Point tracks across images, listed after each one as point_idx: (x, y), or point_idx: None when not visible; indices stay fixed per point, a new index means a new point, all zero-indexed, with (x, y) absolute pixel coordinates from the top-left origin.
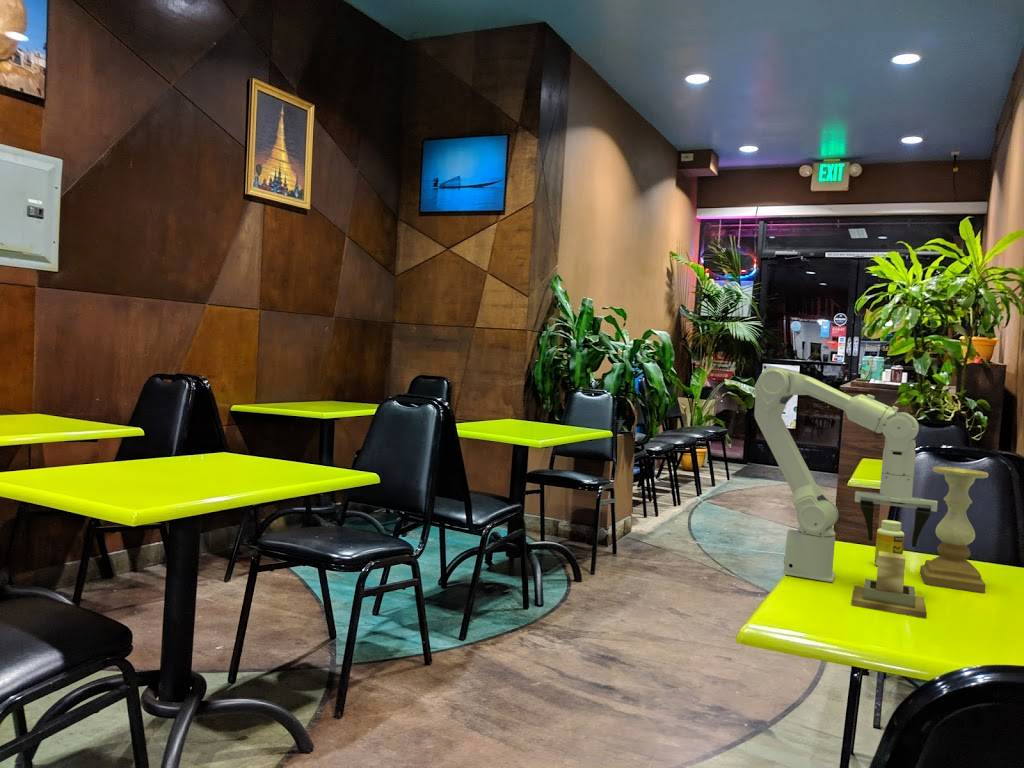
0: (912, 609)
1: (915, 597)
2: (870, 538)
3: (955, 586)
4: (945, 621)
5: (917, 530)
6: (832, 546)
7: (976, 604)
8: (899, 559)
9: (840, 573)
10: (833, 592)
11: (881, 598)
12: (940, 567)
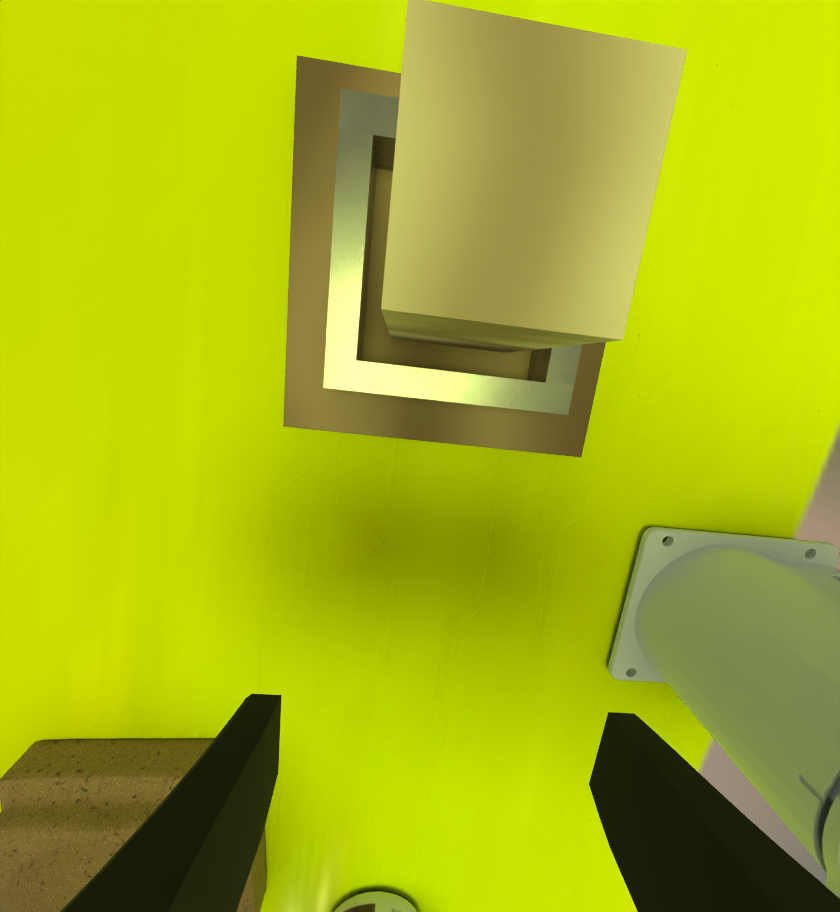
0: (365, 85)
1: (342, 92)
2: (637, 727)
3: (138, 750)
4: (216, 79)
5: (136, 882)
6: (780, 693)
7: (67, 533)
8: (470, 20)
9: (574, 716)
10: (670, 358)
11: None
12: None
